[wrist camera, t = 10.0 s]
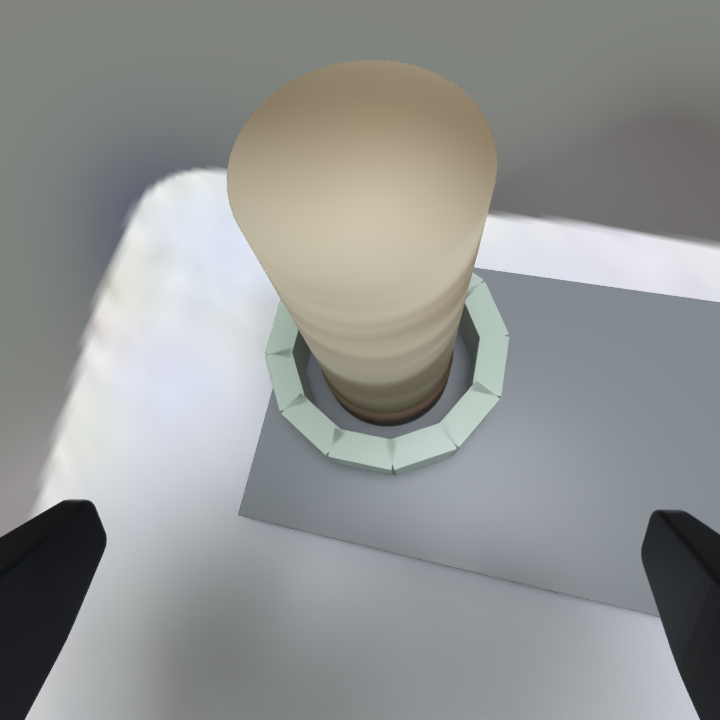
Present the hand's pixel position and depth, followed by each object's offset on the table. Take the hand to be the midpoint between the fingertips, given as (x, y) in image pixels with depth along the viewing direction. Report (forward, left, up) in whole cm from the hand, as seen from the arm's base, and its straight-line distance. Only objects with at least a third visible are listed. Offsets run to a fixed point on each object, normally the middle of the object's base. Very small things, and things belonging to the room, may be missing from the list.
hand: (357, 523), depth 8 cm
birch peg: (+5, +4, -11) cm, 12 cm away
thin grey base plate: (+7, -2, -12) cm, 14 cm away
